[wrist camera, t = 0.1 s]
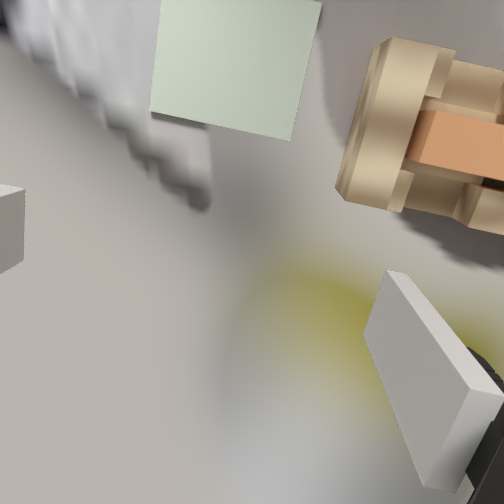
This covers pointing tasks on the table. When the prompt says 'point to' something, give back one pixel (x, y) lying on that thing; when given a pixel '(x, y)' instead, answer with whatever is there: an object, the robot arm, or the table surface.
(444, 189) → the frame
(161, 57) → the mat
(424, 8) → the table surface
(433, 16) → the table surface
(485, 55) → the table surface
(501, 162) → the bar
